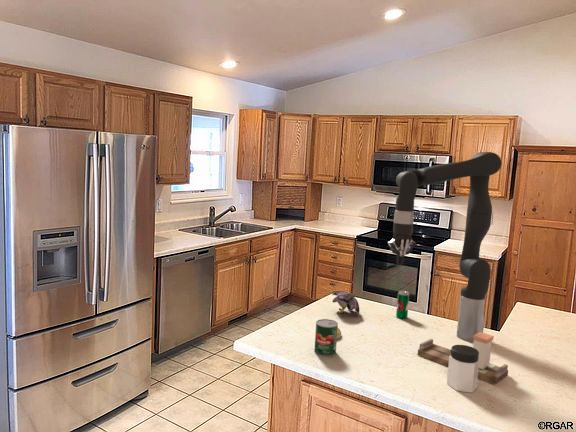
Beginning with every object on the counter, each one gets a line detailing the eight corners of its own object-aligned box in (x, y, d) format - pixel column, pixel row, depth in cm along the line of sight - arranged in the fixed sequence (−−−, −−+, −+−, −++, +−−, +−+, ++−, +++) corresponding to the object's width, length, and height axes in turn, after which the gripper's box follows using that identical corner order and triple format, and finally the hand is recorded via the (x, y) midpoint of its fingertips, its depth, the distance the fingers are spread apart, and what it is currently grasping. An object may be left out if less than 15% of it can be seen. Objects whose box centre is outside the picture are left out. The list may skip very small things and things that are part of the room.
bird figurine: (369, 298, 198) (338, 287, 197) (362, 323, 196) (330, 312, 195) (361, 297, 212) (331, 287, 212) (353, 321, 210) (324, 310, 210)
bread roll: (319, 339, 174) (319, 329, 174) (321, 331, 183) (322, 321, 182) (340, 341, 173) (341, 331, 172) (341, 333, 181) (342, 323, 181)
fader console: (417, 354, 163) (418, 344, 163) (431, 348, 170) (432, 338, 170) (495, 384, 143) (496, 372, 143) (507, 375, 150) (508, 364, 150)
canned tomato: (316, 357, 158) (318, 326, 156) (312, 347, 165) (313, 319, 164) (338, 356, 159) (340, 326, 157) (333, 347, 166) (334, 318, 165)
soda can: (407, 319, 201) (409, 293, 199) (396, 318, 202) (398, 292, 200) (407, 316, 206) (409, 290, 204) (395, 314, 207) (397, 289, 205)
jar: (453, 376, 147) (457, 341, 146) (479, 385, 142) (483, 349, 141) (443, 386, 141) (446, 349, 139) (469, 395, 135) (473, 358, 134)
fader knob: (470, 365, 151) (473, 335, 150) (477, 360, 155) (480, 331, 154) (483, 370, 148) (486, 339, 147) (490, 365, 152) (493, 335, 151)
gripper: (395, 223, 171) (392, 267, 173) (423, 223, 177) (419, 266, 179) (384, 220, 178) (380, 263, 180) (410, 220, 183) (407, 261, 185)
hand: (400, 264), depth 179 cm, fingers closed
